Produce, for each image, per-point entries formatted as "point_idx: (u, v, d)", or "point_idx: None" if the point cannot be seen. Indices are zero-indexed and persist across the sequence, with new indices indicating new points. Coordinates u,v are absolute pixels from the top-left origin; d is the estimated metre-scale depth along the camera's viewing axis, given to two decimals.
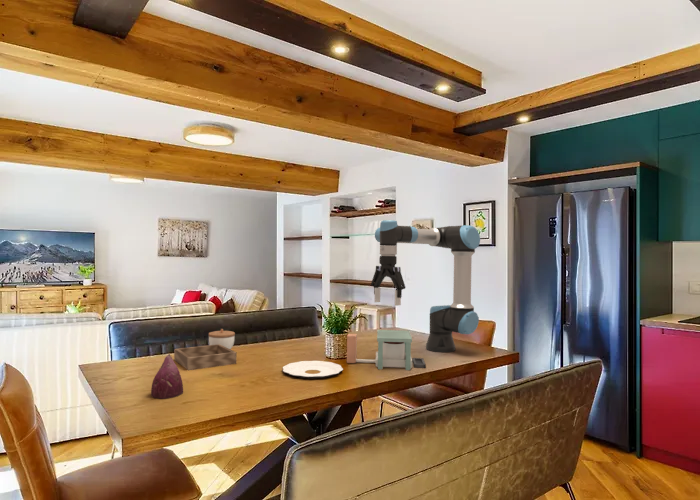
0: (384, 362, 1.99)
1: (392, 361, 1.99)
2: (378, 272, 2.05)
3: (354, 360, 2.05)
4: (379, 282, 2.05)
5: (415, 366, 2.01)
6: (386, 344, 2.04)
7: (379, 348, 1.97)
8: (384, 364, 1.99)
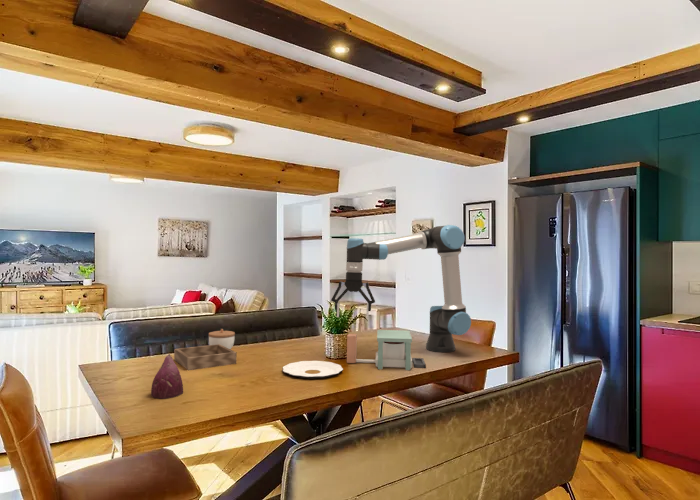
0: (384, 362, 1.99)
1: (392, 361, 1.99)
2: (340, 287, 2.11)
3: (354, 360, 2.05)
4: (341, 297, 2.11)
5: (415, 366, 2.01)
6: (386, 344, 2.04)
7: (379, 348, 1.97)
8: (384, 364, 1.99)
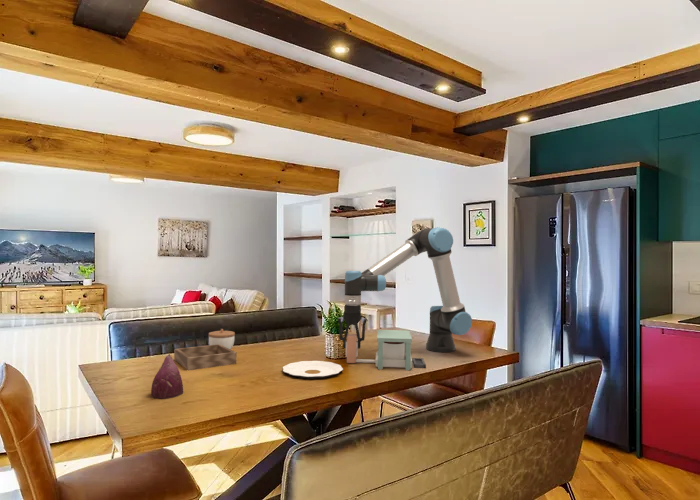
0: (384, 362, 1.99)
1: (392, 361, 1.99)
2: (341, 323, 2.09)
3: (354, 360, 2.05)
4: (347, 333, 2.08)
5: (415, 366, 2.01)
6: (386, 344, 2.04)
7: (379, 348, 1.97)
8: (384, 364, 1.99)
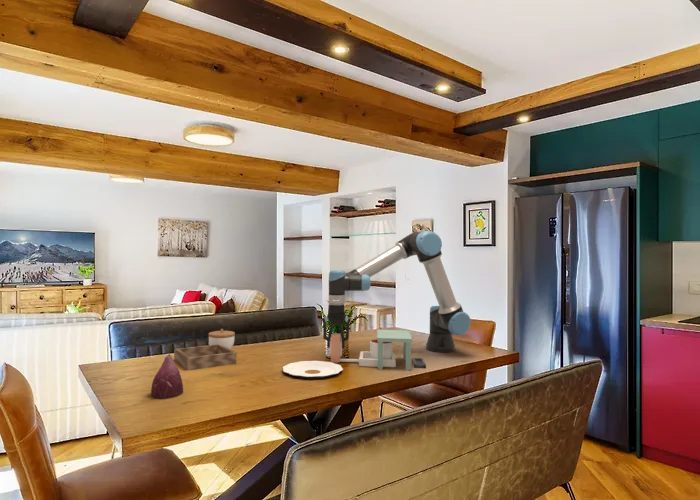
0: (367, 361, 2.00)
1: (375, 360, 2.00)
2: (325, 323, 2.09)
3: (338, 359, 2.06)
4: (331, 333, 2.09)
5: (415, 366, 2.01)
6: (373, 343, 2.04)
7: (379, 348, 1.97)
8: (367, 363, 2.00)
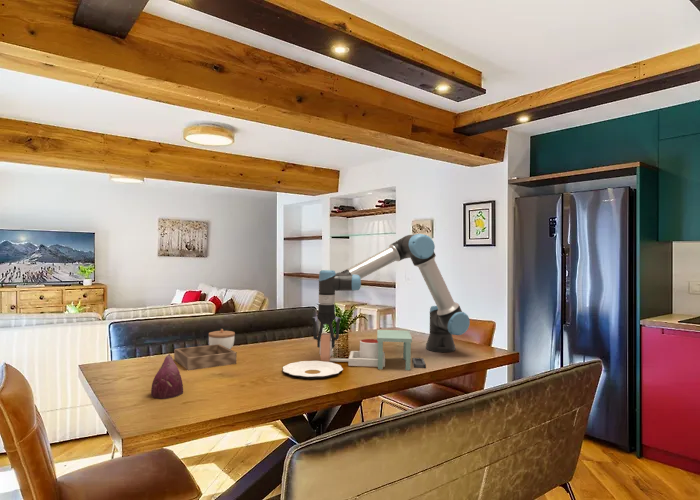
0: (357, 361, 2.00)
1: (365, 360, 2.00)
2: (316, 323, 2.09)
3: (328, 359, 2.06)
4: (321, 333, 2.09)
5: (415, 366, 2.01)
6: (362, 343, 2.05)
7: (379, 348, 1.97)
8: (357, 363, 2.00)
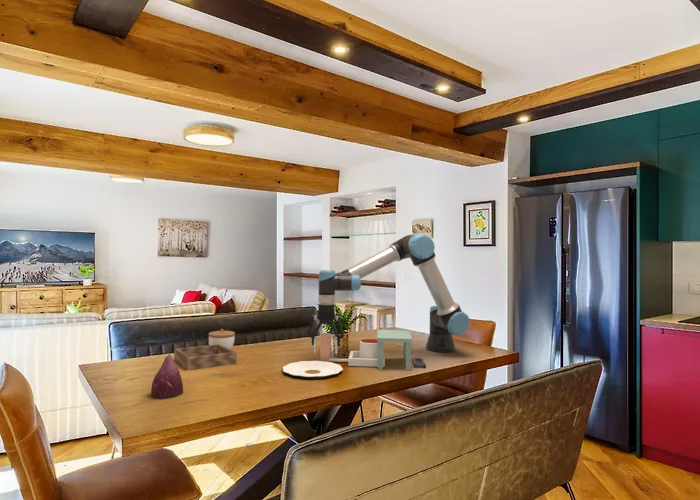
0: (357, 361, 2.00)
1: (365, 360, 2.00)
2: (314, 321, 2.09)
3: (328, 359, 2.06)
4: None
5: (415, 366, 2.01)
6: (362, 343, 2.05)
7: (379, 348, 1.97)
8: (357, 363, 2.00)
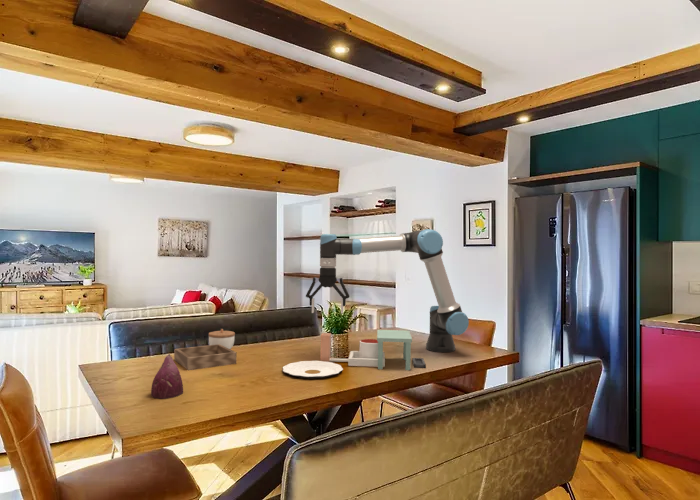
0: (357, 361, 2.00)
1: (365, 360, 2.00)
2: (314, 283, 2.12)
3: (328, 359, 2.06)
4: None
5: (415, 366, 2.01)
6: (362, 343, 2.05)
7: (379, 348, 1.97)
8: (357, 363, 2.00)
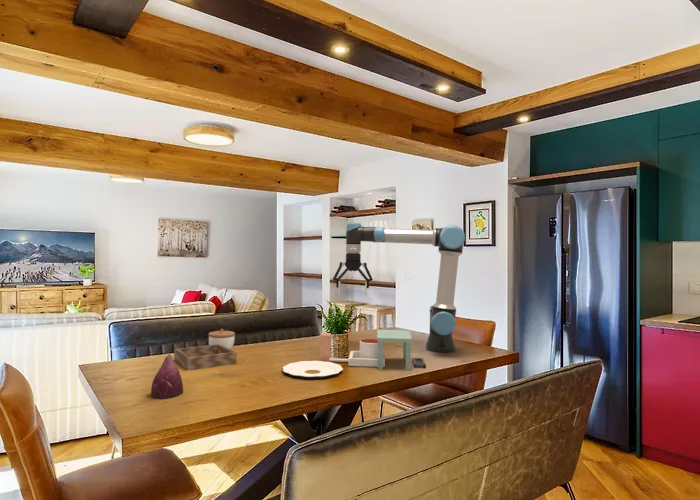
0: (357, 361, 2.00)
1: (365, 360, 2.00)
2: (341, 267, 2.33)
3: (328, 359, 2.06)
4: (342, 276, 2.33)
5: (415, 366, 2.01)
6: (362, 343, 2.05)
7: (379, 348, 1.97)
8: (357, 363, 2.00)
